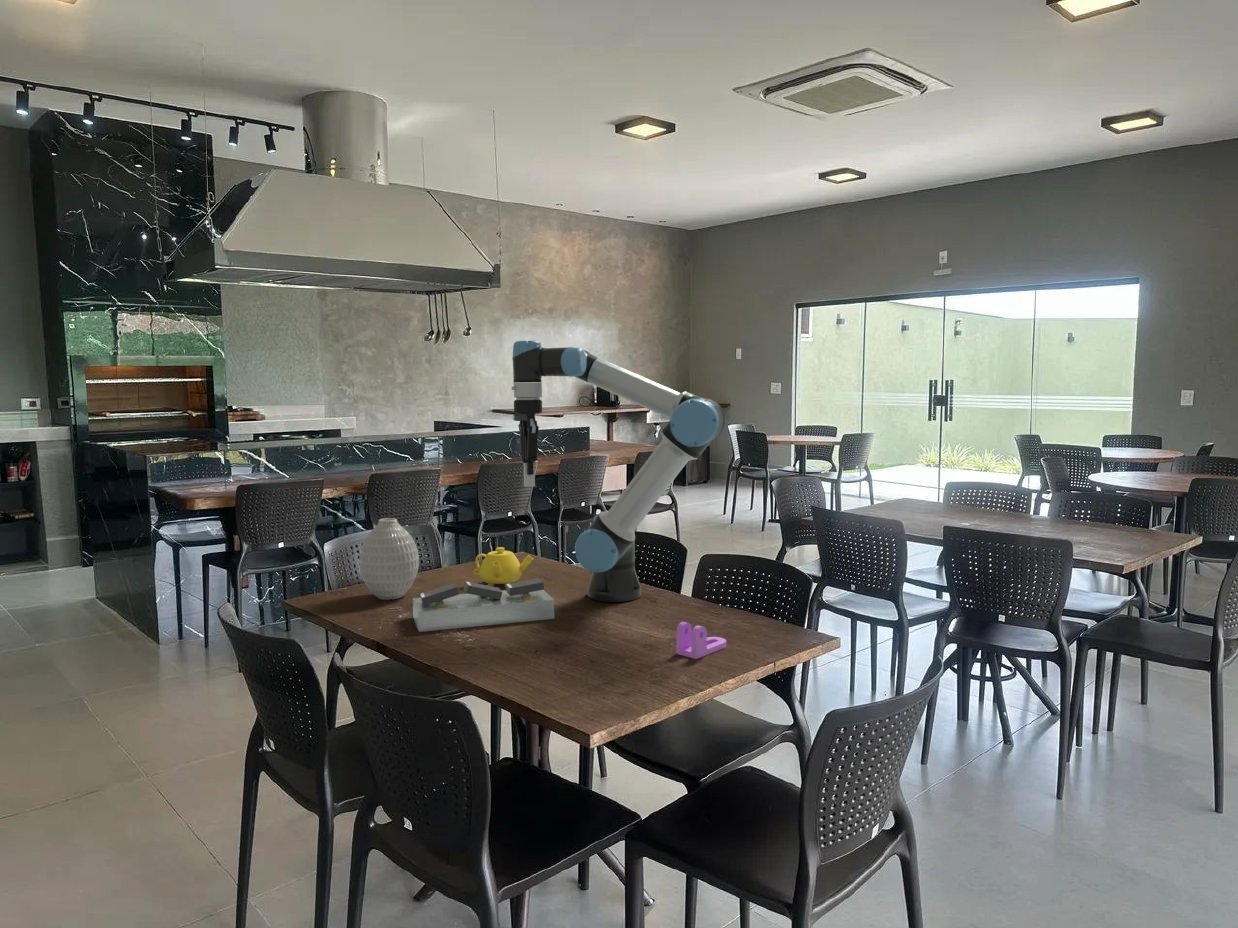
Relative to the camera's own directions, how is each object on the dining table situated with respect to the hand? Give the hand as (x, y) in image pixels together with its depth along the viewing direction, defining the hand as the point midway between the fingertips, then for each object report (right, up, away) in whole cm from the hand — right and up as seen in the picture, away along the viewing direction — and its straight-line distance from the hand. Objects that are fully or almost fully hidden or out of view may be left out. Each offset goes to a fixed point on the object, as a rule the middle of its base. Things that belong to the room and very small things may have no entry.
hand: (529, 486), depth 231 cm
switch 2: (-11, -26, -12) cm, 31 cm away
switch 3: (0, -26, -8) cm, 27 cm away
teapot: (-10, -30, +25) cm, 41 cm away
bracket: (+43, -36, -38) cm, 68 cm away
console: (-11, -34, -11) cm, 37 cm away
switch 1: (-21, -27, -15) cm, 37 cm away
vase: (-41, -32, +11) cm, 53 cm away
